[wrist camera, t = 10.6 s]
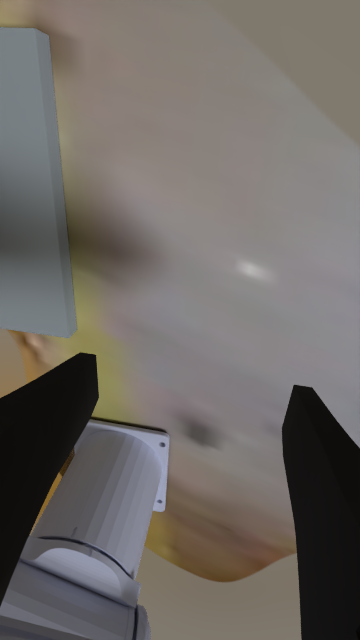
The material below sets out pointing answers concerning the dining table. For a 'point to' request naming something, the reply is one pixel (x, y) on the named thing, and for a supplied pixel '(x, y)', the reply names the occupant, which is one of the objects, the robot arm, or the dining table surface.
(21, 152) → the grey rectangular slab
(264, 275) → the dining table surface
